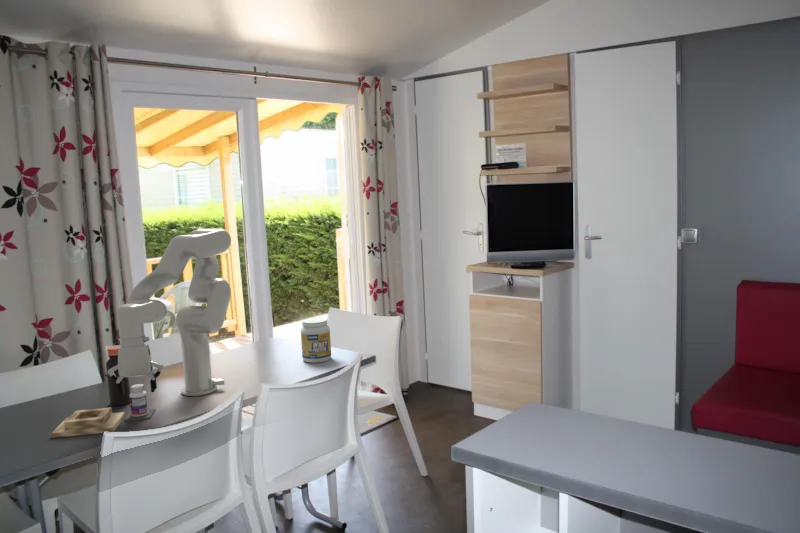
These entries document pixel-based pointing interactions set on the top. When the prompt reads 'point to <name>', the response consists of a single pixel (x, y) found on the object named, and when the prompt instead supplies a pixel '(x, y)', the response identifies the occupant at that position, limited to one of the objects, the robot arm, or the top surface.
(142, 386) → the pill bottle
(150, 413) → the mat
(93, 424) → the housing
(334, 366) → the top surface
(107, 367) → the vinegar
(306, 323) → the supplement tub
